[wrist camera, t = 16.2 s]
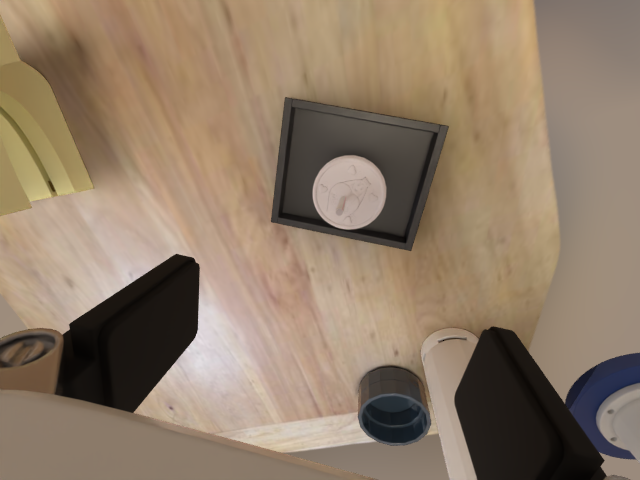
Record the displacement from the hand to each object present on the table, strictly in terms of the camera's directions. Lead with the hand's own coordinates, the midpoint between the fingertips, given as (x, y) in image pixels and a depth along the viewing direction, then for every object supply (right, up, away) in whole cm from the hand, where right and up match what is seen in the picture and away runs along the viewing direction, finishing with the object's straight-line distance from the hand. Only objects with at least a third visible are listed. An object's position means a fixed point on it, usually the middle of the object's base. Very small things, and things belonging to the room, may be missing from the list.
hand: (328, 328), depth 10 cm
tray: (+3, +10, +26) cm, 28 cm away
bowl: (+10, -19, +36) cm, 42 cm away
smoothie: (+4, +10, +25) cm, 28 cm away
